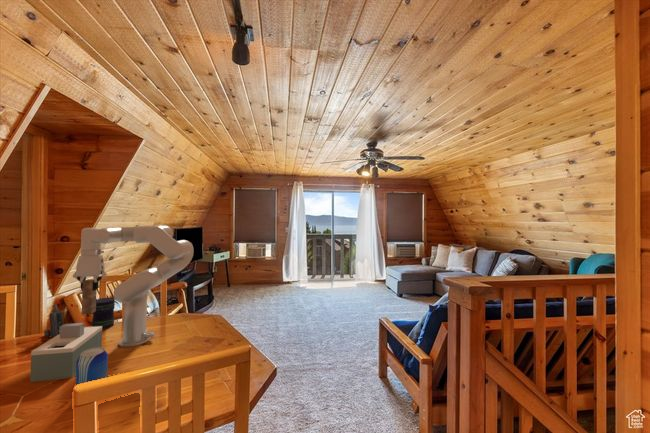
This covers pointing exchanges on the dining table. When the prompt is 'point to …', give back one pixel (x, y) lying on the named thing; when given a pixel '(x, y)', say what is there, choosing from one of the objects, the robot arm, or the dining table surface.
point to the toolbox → (60, 362)
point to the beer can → (92, 365)
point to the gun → (54, 323)
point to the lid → (67, 339)
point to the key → (88, 297)
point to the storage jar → (104, 313)
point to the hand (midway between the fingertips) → (89, 289)
